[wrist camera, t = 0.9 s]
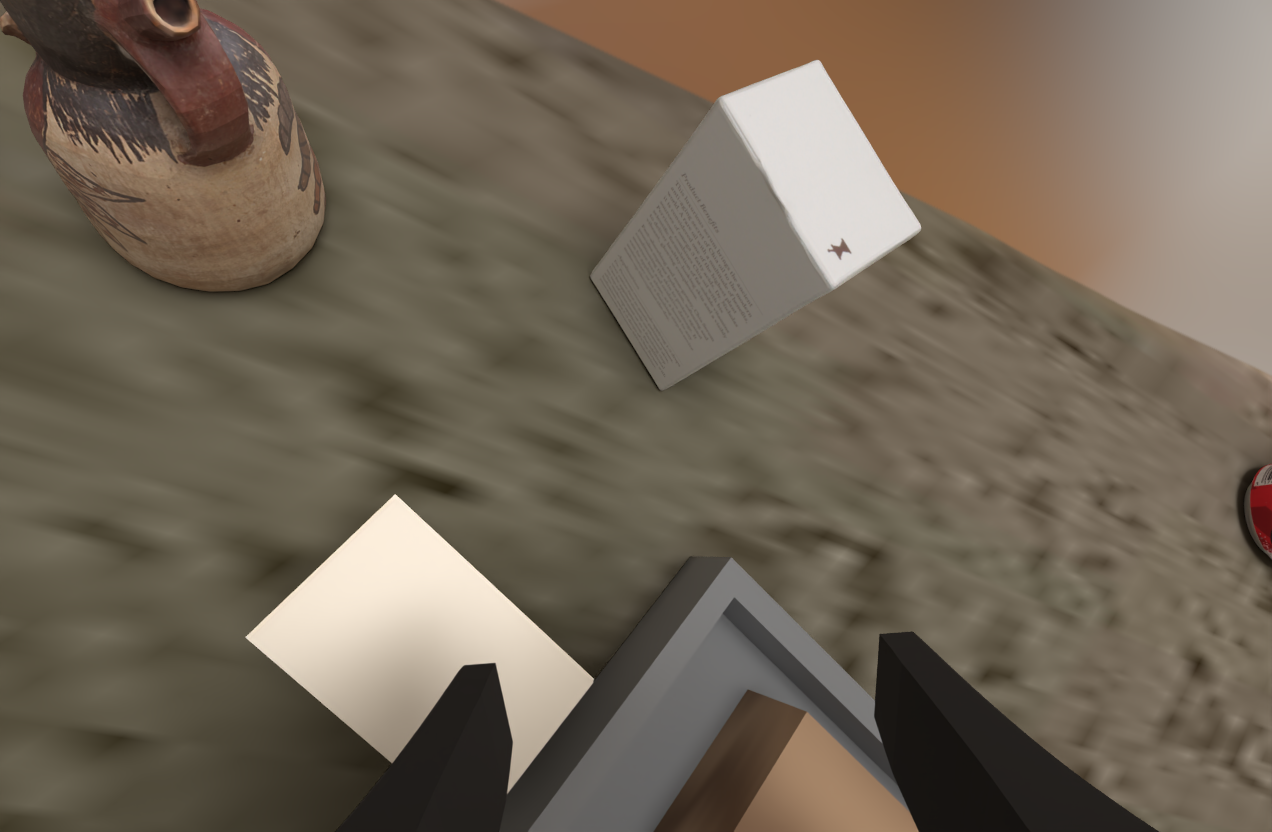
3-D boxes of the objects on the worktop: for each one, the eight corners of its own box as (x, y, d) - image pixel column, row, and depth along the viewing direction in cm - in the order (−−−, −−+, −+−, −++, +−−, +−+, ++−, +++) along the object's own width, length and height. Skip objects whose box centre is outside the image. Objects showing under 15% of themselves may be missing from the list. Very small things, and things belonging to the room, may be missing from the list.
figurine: (248, 83, 25) (141, -294, 14) (367, 237, 25) (356, -7, 14) (44, 163, 22) (-299, -230, 11) (183, 335, 22) (-10, 127, 11)
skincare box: (729, 349, 30) (930, 233, 19) (658, 394, 28) (834, 294, 17) (660, 235, 30) (822, 51, 19) (584, 273, 28) (714, 95, 17)
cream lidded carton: (453, 770, 23) (476, 839, 17) (277, 617, 22) (242, 639, 16) (550, 652, 25) (598, 681, 19) (392, 506, 24) (395, 492, 18)
